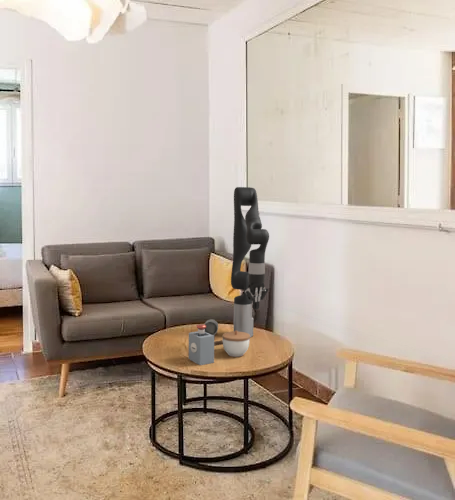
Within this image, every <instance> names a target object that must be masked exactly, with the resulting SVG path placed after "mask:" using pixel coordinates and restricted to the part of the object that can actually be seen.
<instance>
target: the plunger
mask: <svg viewBox="0 0 455 500" xmlns="http://www.w3.org/2000/svg"><path fill="white" fill-rule="evenodd" d="M205 328H206V325H205V323H203V324H202V323H200V324H196V329H197V331H198V336H199V337H200V336H205Z"/></svg>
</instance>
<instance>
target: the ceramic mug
mask: <svg viewBox="0 0 455 500" xmlns="http://www.w3.org/2000/svg"><path fill="white" fill-rule="evenodd" d="M204 324H205V325H206V328H205V332H207V333H209V334H211V335H214V336H215V335H216V334H217V333H218V330H219V324H218V322H217V321H216V320H215V319H211V318H210V319H207V320H206V321H205V322H204Z"/></svg>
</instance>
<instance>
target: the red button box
mask: <svg viewBox="0 0 455 500" xmlns="http://www.w3.org/2000/svg"><path fill="white" fill-rule="evenodd" d="M214 342H215V335H211V334H209V333H207V332H205V336H200V337H199V336H198V330H197V331H191V332H188V360H189V359H190V360H189V361H192V362H193V363H195V364H196V365H199V366H205V365H208V364H214V363H215V346H214Z"/></svg>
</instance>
